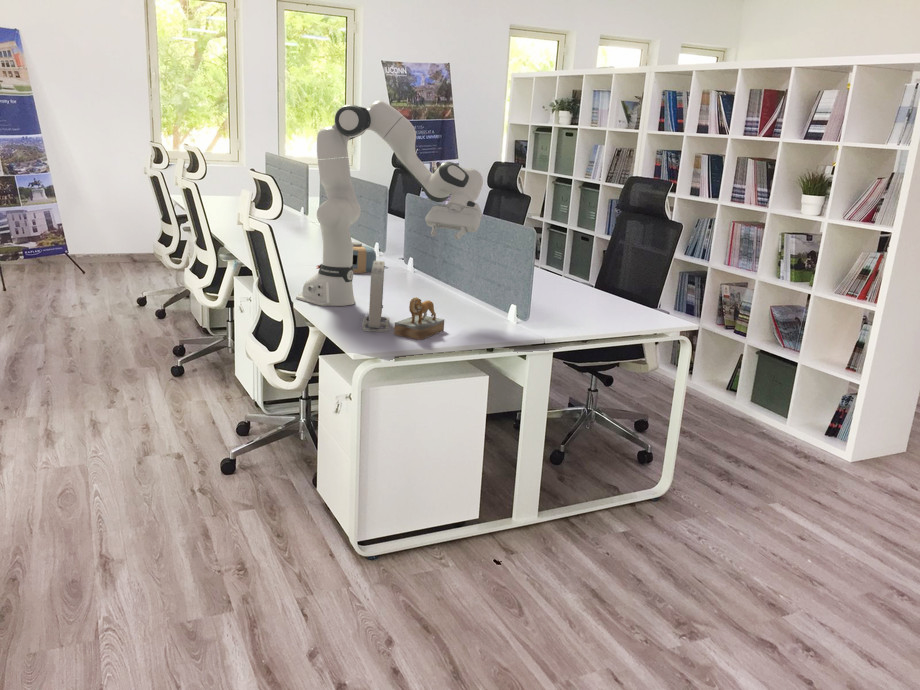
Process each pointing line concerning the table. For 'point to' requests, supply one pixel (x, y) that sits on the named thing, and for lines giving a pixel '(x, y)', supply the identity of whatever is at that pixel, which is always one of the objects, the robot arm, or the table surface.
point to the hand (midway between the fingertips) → (444, 236)
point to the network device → (376, 300)
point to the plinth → (418, 327)
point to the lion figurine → (421, 309)
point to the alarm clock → (362, 258)
